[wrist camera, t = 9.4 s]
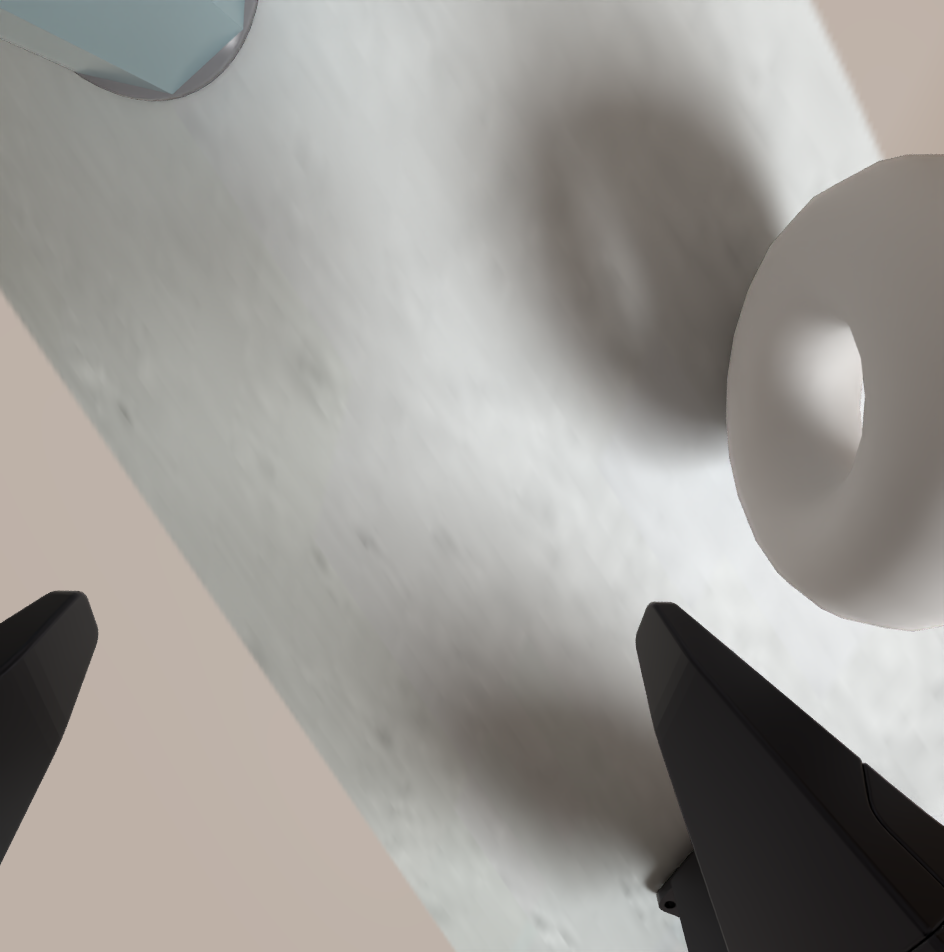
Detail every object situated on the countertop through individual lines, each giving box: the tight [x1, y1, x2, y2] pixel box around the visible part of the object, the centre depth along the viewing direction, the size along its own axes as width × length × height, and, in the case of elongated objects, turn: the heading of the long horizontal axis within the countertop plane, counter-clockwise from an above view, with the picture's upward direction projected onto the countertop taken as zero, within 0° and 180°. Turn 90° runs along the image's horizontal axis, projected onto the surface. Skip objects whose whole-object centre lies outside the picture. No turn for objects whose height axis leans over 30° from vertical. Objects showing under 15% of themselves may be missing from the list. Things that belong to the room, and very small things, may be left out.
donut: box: [726, 154, 944, 632], centre depth 13 cm, size 10×3×10 cm, turn 3°
